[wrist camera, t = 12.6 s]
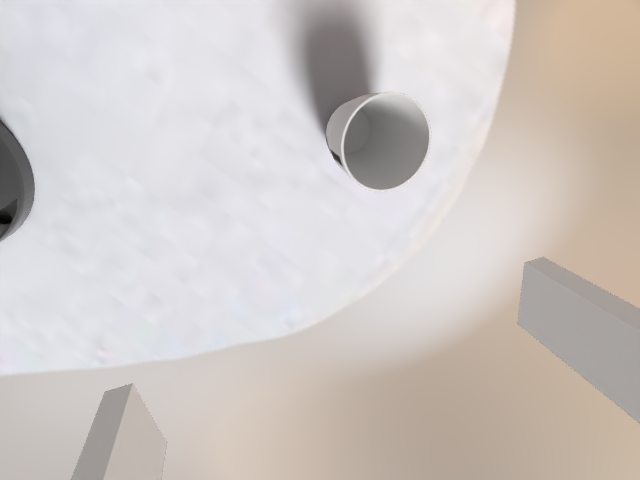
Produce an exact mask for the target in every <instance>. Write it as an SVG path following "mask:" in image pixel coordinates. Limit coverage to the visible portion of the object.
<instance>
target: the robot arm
mask: <svg viewBox="0 0 640 480" xmlns="http://www.w3.org/2000/svg"><path fill="white" fill-rule="evenodd" d="M34 191H35V188H34V178H33V174H32V170H31V167H30V164H29V162H28V159H27V157H26V155H25V153H24V151H23V150H22V148H21V146H20V145H19V143H18V142H17V140H16V139H15V138H14V137H13V135H12V134H11V133H10V132H9V131H8V129H7V128H6V127H5V126H4V125H3V124H2V123H1V122H0V242H1V241H2V240H4V239H5V238H7V237H8V236H10V235H11V234H12V233H14V232H15V231H16V230H17V229H18V228H19V227H20V226H21V225H22V224H23V222H24V221H25V220H26V218H27V217H28V215H29V213H30V211H31V208H32V205H33V201H34ZM517 324H518V325H519V326H521V327H522V328H523V329H524V330H526V331H527V332H528V333H529V334H530V335H532V336H533V337H534V338H535V339H536V340H538V341H539V342H540V343H541V344H543V345H544V346H545V347H547V348H548V349H549V350H550V351H551V352H552V353H554V354H555V355H556V356H557V357H559V358H560V359H561V360H562V361H563V362H565V363H566V364H567V365H568V366H570V367H571V368H572V369H573V370H574V371H576V372H577V373H578V374H579V375H581V376H582V377H583V378H584V379H586V380H587V381H588V382H589V383H590V384H592V385H593V386H595V388H597V389H598V390H599V391H600V392H602V393H603V394H604V395H605V396H606V397H608V398H609V399H610V400H611V401H613V402H614V403H615V404H616V405H618V406H619V407H620V408H621V409H622V410H624V411H625V412H626V413H627V414H628V415H630V416H631V417H632V418H634V419H635V420H636V421H637V422H638V423H640V309H639V308H637V307H635V306H634V305H632V304H630V303H628V302H626V301H624V300H622V299H620V298H619V297H617V296H615V295H613V294H611V293H609V292H607V291H606V290H604V289H602V288H600V287H598V286H596V285H594V284H593V283H591V282H589V281H587V280H585V279H583V278H581V277H580V276H578V275H576V274H574V273H572V272H570V271H568V270H567V269H565V268H563V267H561V266H559V265H557V264H556V263H554V262H552V261H550V260H548V259H546V258H545V257H542V258H538V259H535V260H532V261H529V262H526V263H525V264H524V272H523V280H522V289H521V297H520V305H519V313H518V322H517ZM166 447H167V441H166V439H165V437H164V436H163V434H162V432H161V431H160V429H159V427H158V426H157V424H156V422H155V420H154V419H153V417H152V415H151V413H150V412H149V410H148V408H147V407H146V405H145V403H144V402H143V400H142V398H141V396H140V395H139V393H138V392H137V390H136V388H135V386H134V385H133V383H132V384H129V385H125V386H122V387H119V388H116V389H112V390H109V391H106V392H105V393H104V395H103V398H102V401H101V403H100V406H99V408H98V411H97V413H96V416H95V419H94V421H93V424H92V426H91V429H90V432H89V434H88V437H87V440H86V442H85V444H84V447H83V450H82V452H81V455H80V457H79V460H78V463H77V465H76V468H75V470H74V473H73V476H72V478H71V480H161V479H162V472H163V466H164V460H165V454H166Z"/></svg>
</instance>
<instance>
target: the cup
mask: <svg viewBox="0 0 640 480" xmlns="http://www.w3.org/2000/svg"><path fill="white" fill-rule="evenodd" d="M326 141H327V145H328V148H329V150H330V152H331V154H332V156H333V158H334V159H335V161H336V163H337V164H338V166H339V167H340V168H341V169H342V170H343V171H344V172H345V173H346V174H347V175H348V176H349V177H350V178H351V179H352V180H353V181H354V182H356V183H357V184H358V185H359V186H361V187H363V188H365V189H367V190H370V191H375V192H387V191H391V190H395V189H397V188H400V187H402V186H403V185H405V184H406V183H408V182H409V181H410V180H412V179H413V178H414V177H415V176H416V175H417V173H418V172H419V171H420V169H421V168H422V166H423V165H424V163H425V161H426V159H427V156H428V153H429V150H430V145H431V127H430V122H429V119H428V116H427V114H426V112H425V111H424V109H423V108H422V106H421V105H420V104H419V103H418V102H417V101H416V100H415V99H413V98H412V97H410V96H408V95H406V94H403V93H398V92H385V93H376V94H367V95H362V96H359V97H357V98H354V99H352V100H350V101H348V102H346V103H344V104H342V105H341V106H339V107H338V108H337V109H336V110H335V111H334V113H333V114H332V116H331V117H330V119H329V122H328V125H327V129H326Z"/></svg>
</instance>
